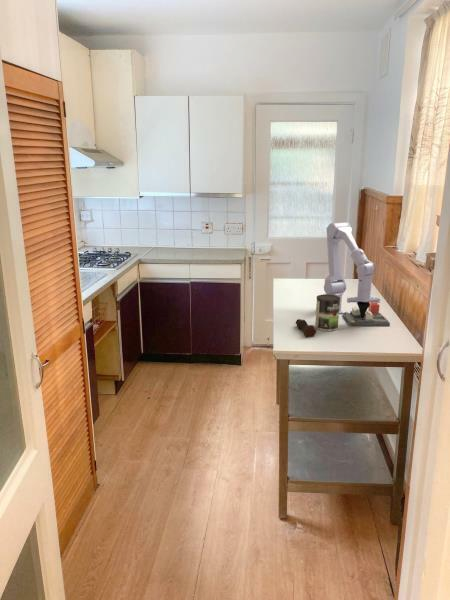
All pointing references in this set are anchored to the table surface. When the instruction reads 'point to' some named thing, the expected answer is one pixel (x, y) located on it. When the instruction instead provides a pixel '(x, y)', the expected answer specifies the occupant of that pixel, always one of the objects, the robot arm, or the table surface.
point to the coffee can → (327, 312)
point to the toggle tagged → (368, 315)
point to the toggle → (355, 310)
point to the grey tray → (358, 321)
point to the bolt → (306, 328)
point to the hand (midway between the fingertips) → (362, 317)
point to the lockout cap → (374, 307)
